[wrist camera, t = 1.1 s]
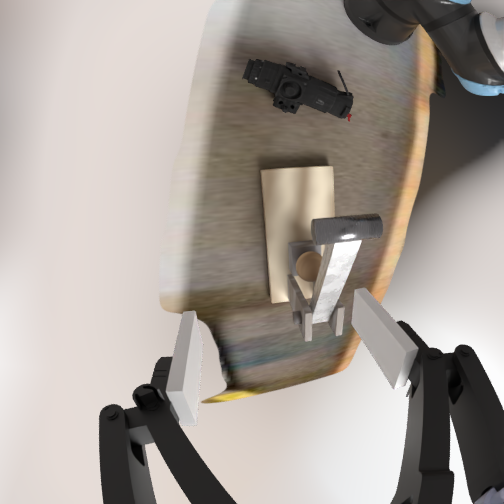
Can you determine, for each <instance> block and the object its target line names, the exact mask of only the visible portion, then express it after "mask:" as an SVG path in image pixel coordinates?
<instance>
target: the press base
mask: <svg viewBox="0 0 504 504" xmlns="http://www.w3.org/2000/svg"><path fill="white" fill-rule="evenodd" d="M260 173H261V185H262V196H263V208H264V220H265V233H266V245H267V258H268V272H269V286H270V298H271V302H272V303H278V302H286V301H289V302H290V305H291V307H292V310H293V321H294V324H298V325H299V327H300V330H301V333H302V335H303V338H304V340H305V342H306V341H312V311H311V309H310V307H309V305H308V303H307V301H306V299H307V298H312V294H313V291H314V287H315V283H316V280H317V276H318V272H319V268H320V265H321V261H322V257H323V253H324V249H325V245H317V246H315V245H314V243H313V240H312V236H311V221H312V219H317V218H328V217H334V179H333V166H310V167H292V168H277V169H264V170H260ZM344 314H345V310H344V306H343V304H342V303H341V302H340V300H339V299H338V301H337V303H336V305H335V307H334V310H333V312H332V314H331V316H330V318H329V321H328V323H329V325H330V327H331V329H332V330H333V332H334V334H335V336H338V335H342V328H343V317H344Z"/></svg>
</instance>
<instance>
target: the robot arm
mask: <svg viewBox="0 0 504 504" xmlns="http://www.w3.org/2000/svg"><path fill="white" fill-rule="evenodd" d="M470 2H471V0H344V6H345V10H346V12H347V15H348V16H349V18H350V20H351V21H352V22H353V24H354V25H355V26H356V27H357V28H358V29H359V30H360V31H361V32H363V33H364V34H365V35H367V36H368V37H370V38H371V39H373V40H375V41H377V42H379V43H382V44H386V45H398V44H400V43H402V42H404V41H406V40H408V39H409V38H410V37H411V35H412V34H413V31H414V30H415V29H416V28H417V26H418V25H419V24H421V26H422V27H423V28H424V29H425V31H426V32H427V33H428V35H429V36H430V37H431V39H432V40H433V41H434V43H435V44H436V46H437V47H438V48H439V50H440V51H441V53H442V54H443V56H444V57H445V58H446V60H447V62H448V63H449V65H450V67H451V69H452V71H453V73H454V74H455V75H456V76H457V77H458V79H459V80H460V82H461V83H462V85H463V86H464V88H466V89H467V90H468V91H470V92H471V93H474V94H477V95H483V96H494V95H498V94H499V93H504V17H501V18H497V17H495V16H494V15H492V14H490V13H488V12H482V13H479V14H478V13H477V12H476V10H475V9H474V7H473V6H472V5H471V3H470ZM351 324H352V325H353V327H354V328H355V330H356V332H357V333H358V335H359V336H360V338H361V339H362V341H363V342H364V343H365V345H366V347H367V348H368V350H369V351H370V353H371V354H372V356H373V358H374V359H375V361H376V362H377V364H378V365H379V367H380V369H381V370H382V372H383V373H384V375H385V377H386V378H387V380H388V381H389V383H390V385H391V386H392V388H393V389H394V390H395V389H397V388H400V387H403V386H405V385H406V382H407V380H408V378H409V380H410V381H411V385H410V388H409V390H408V392H407V395H406V397H408V395H409V409H408V421H407V431H406V439H405V448H404V454H403V460H402V466H401V472H400V477H399V482H398V487H397V491H396V494H395V496H394V498H393V500H392V502H391V504H452V496H453V488H454V473H453V471H450V469H449V460H450V458H449V457H450V415H451V418H452V422H453V426H454V429H455V432H456V436H457V440H458V444H459V448H460V452H461V456H462V460H463V465H464V470H465V475H466V480H467V486H468V490H469V495H470V497H471V500H472V503H473V504H504V410H503V407H502V405H501V403H500V401H499V398H498V396H497V394H496V392H495V390H494V388H493V386H492V384H491V382H490V380H489V378H488V376H487V374H486V372H485V370H484V368H483V366H482V364H481V362H480V360H479V359H478V357H477V355H476V353H475V352H474V350H473V349H472V348H471V347H470V346H468V345H459V346H457V347H456V348H455V351H454V353H445V354H443V353H442V352H441V350H439V349H437V348H429V347H428V346H427V345H426V343H425V342H424V341H423V340H422V339H421V338H420V337H419V336H418V335H417V334H416V332H415V331H414V330H413V329H412V328H411V327H410V326H409V324H407V323H405V322H403V321H398V322H395V320H394V319H393V318H392V317H391V316H390V315H389V313H388V312H387V311H386V310H385V309H384V308H383V307H382V306H381V305H380V303H379V302H378V301H377V300H376V299H375V298H374V297H373V296H372V295H371V294H370V292H369V291H368V290H367V289H366V288H360V289H355V293H354V304H353V314H352V323H351ZM202 353H203V341H202V337H201V333H200V329H199V325H198V320H197V316H196V312H195V311H187V312H183V315H182V319H181V324H180V328H179V332H178V336H177V341H176V345H175V350H174V354H173V357H161V358H160V359H159V360H158V362H157V363H156V365H155V368H154V372H153V377H152V379H151V383H150V384H143V385H141V386H139V387H137V388H136V389H135V390H134V392H133V395H132V396H133V400H134V402H135V403H136V405H137V407H134V408H129V409H125V410H123V408H121V406H119V405H115V404H111V405H108V406H106V407H104V408H103V409H102V410H101V412H100V416H99V452H100V472H101V485H102V495H103V503H104V504H157V503H156V499H155V495H154V491H153V487H152V482H151V478H150V473H149V467H148V462H147V456H146V451H145V444H149V443H154V442H155V444H156V446H157V447H158V449H159V451H160V453H161V455H162V457H163V459H164V460H165V462H166V464H167V466H168V467H169V469H170V471H171V473H172V474H173V476H174V478H175V479H176V481H177V482H178V484H179V486H180V487H181V489H182V490H183V492H184V493H185V495H186V496H187V498H188V499H189V501H190V502H191V504H237V503H236V502H235V501H234V500H233V498H232V497H231V496H230V495H229V494H228V493H227V491H226V490H225V489H224V488H223V486H222V485H221V484H220V482H219V481H218V480H217V479H216V477H215V476H214V475H213V474H212V472H211V471H210V469H209V468H208V467H207V465H206V464H205V463H204V461H203V460H202V459H201V457H200V456H199V454H198V453H197V451H196V450H195V448H194V447H193V445H192V444H191V442H190V441H189V439H188V438H187V436H186V435H185V433H184V432H183V430H182V429H181V427H180V425H179V421H180V423H181V424H182V426H193V425H194V426H195V425H197V418H198V403H199V390H200V377H201V366H202V355H203V354H202Z"/></svg>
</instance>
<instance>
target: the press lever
mask: <svg viewBox="0 0 504 504" xmlns="http://www.w3.org/2000/svg"><path fill="white" fill-rule="evenodd" d="M382 232H383V224H382V220H381V218H380V216H379V215H378V214H364V215H351V216H340V217H328V218H317V219H312V221H311V236H312V240H313V243H314V245H315V246H317V245H325V249H324V253H323V257H322V261H321V265H320V268H319V272H318V276H317V280H316V283H315V287H314V291H313V294H312V298H311V301H310V305H309V307H310V309H311V311H312V324H314V323H320V322H325V321H329V318H330V316H331V314H332V312H333V310H334V307H335V305H336V303H337V301H338V298H339V296H340V294H341V291H342V289H343V287H344V284H345V282H346V279H347V277H348V275H349V272H350V270H351V267H352V265H353V262H354V260H355V257H356V254H357V252H358V249H359V247H360V244H361V241H362V240H369V239H378V238H380V237H381V235H382Z"/></svg>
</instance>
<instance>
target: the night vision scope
mask: <svg viewBox="0 0 504 504" xmlns="http://www.w3.org/2000/svg"><path fill="white" fill-rule="evenodd" d="M338 74H339V76H340V78H341V81H342V83H343V85H344V88H345V90H346V92H342V91H339V90H337V88H336V87H335V86H332V85H330V84H328V83H326V82H324V81H321V80H319V79H317V78H315V77H312V76H309V75H308V73H307V72H306V68H304V67H302V66H300V67H296V66H295V64H293V63H290V62H286V66H284V65H281V64H276V63H273V62H270V61H267V60H264V61H262V60H259V59H256V60H255V61H253V60H251V59H249V61H248V64H247V67H246V69H245V72H244V75H243V78H244V79H247V80H248V83H252V84H255V86H256V87H260V88H263V89H266V90H269V92H272V93H275V97H274V100H273V101H274V103H273V106H274V107H277V108H279V109H282V111H283V112H285V113H286V112H290V113H293V114H295V113H296V112H297V110H298V108H299V106H300V105H303V104H304V105H307V106H309V107H312V108H314V109H317V110H319V111H321V112H324V113H326V112H328V113H330V114H332V115H334V116H337V117H339V118H344V119H345V118H346V117H348V121H349V122H350V117H351V116H352V115H351V114H349V112H350V110H351V108H352V104H353V98H354V97H353V96H352V93H350V92H348V90H347V87H346V85H345V83H344V80H343V78H342V76H341V73H340V71H339V70H338ZM243 78H242V79H243Z"/></svg>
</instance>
